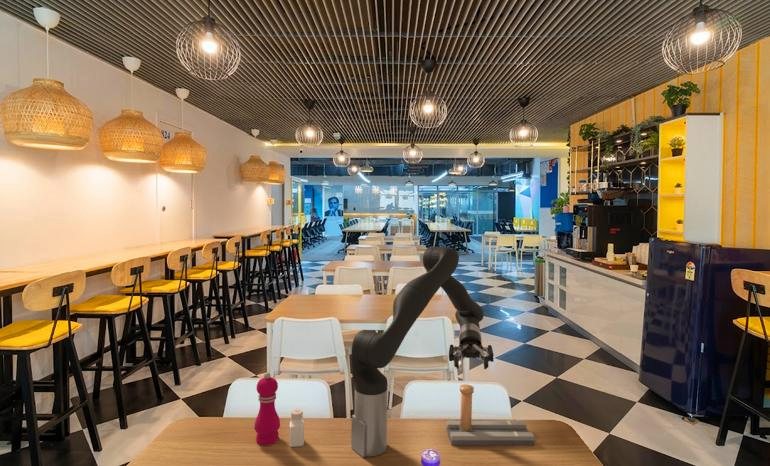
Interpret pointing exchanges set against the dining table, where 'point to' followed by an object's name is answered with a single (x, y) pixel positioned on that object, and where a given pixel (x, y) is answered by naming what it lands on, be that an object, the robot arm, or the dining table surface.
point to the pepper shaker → (296, 428)
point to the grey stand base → (491, 433)
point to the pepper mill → (267, 411)
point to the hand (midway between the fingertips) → (471, 366)
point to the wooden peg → (466, 408)
